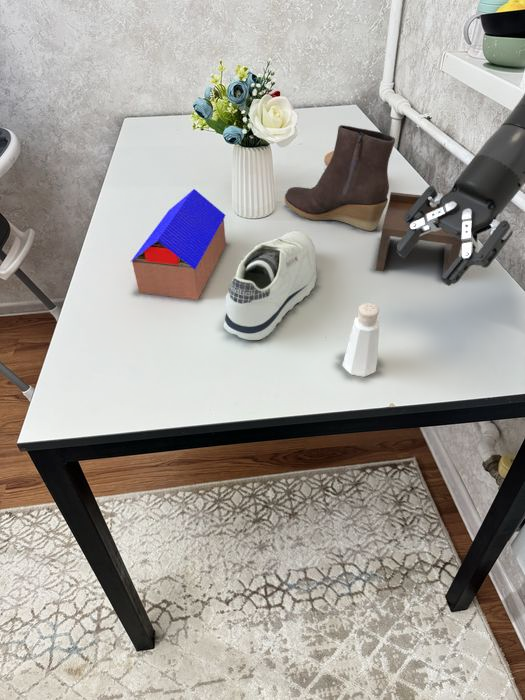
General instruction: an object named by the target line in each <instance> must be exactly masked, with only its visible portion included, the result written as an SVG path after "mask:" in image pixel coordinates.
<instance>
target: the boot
mask: <svg viewBox="0 0 525 700" xmlns="http://www.w3.org/2000/svg"><path fill="white" fill-rule="evenodd" d="M395 143H396V138H395V137H393V136H391V135H389V134H387V133H384V132H382V131H378V130H377V131H376V130H371V129H367V128H361V127H355V126H350V125H345V124H344V125H343V124H341V125H340V124H339V125H338V127H337V135H336V140H335V144H334V149H333V151H334V153H333V156H332V158H331V160H330V162H329V164H328V166H327V168H326V169H325V171H324V170H323V173H322V174H321V176H320V178H319V179H318V181H317V183H316V184H315V186H313V187H311V188H309V187H302V186H292V187H289V188H288V189H287V190H286V193H285V194H284V202H285V204H286V206H287V207H288V208H289V209H290V210H291V211H293V213H296V214H297V215H299V216H300V217H303V218H305V219H308V220H312V221H322V220H323V221H329V220H330V221H338V222H342V223H345V224H348V225H351V226H353V227H355V228H357V229H360V230H362V231H367V232H372V231H375V230H376V229H377V227H378V225H379V223H380V221H381V218H382V215H383V213H384V211H385V208H386V206H388V203H389V198H388V195H389V191H390V189H389V188H390V183H389V175H388V169H389V162H390V157H391V155H392V152H393V149H394V146H395Z"/></svg>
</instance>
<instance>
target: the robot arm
mask: <svg viewBox="0 0 525 700" xmlns="http://www.w3.org/2000/svg"><path fill="white" fill-rule="evenodd" d="M524 185H525V92H524V93H523V95H522V97H521V99H520V100H519V102H517V104H516V106H514V108H513V109H512V110H511V112H510V113H509V114H508V116H507V117H506V118H505V119H504V121H503V122H502V123H501V125H500V126H499V127H498V128H497V130H496V131H495V132H494V133H493V134H492V135H491V136H490V137H489V138H488V139H487V140H486V141H485V142H484V144H483V145H482V146H481V147H480V149H479V150H478V152H477V153H476V154H475V155H474V157H473V158H472V159H471V160H470V161H469V163H468V164H467V165H466V167H465V168H464V170H462V172H461V173H460V175H459V176H458V178H456V179H455V182H454V183H453V186H452V188H451V190H450V191H448V192H447V193H445V194H442V193H441V192H439V191H437V189H436V187H435V186H433V185H429V186H428V187H427V188H426V189H425V190H424V192H422V194H421V196H420V198H419V199H418V200H417V201H416V202H415V204H414V205H413V206H412V207H411V208H410V210H409V211H408V212H407V213H406V214H405V216H404V220H405V221H406V222H407V224H408V225H409V230H408V231H407V233H406V234H405V235H404V237H403V238H401V239H400V241H399V242H398V243H397V245H396V253H397V254H398V256H399V257H401V258H403V259H405V258H407V257H408V255H409V254H410V253H411V252H412V250H413V249H414V248H415V246H416V245H417V244H418V242H419V241H421V240H420V237H419V236H422V235H424V234H426V233H429V232H431V231H433V232H435V231H438V230H441V229H442V230H443V231H444V232H446V233H448V234H453V235H454V236H455V237H456V238H457V239H459V240H462V245H461V256H458V257H457V258H456V260H455V261H454V262H453V263H452V265H451V266H450V267H449V268H448V270H447V271H446V272H445V273H444V275H443V274H442V276H441V278H440V280H441V282H442V283H443V284H444V285H446V286H448V287H450V286H451V285H452V284H453V285H455V284H457V283H458V282H459V280H460V279H461V278H462V277H463V276H464V274H465V273H466V272H467V271H468V270H469V268H471V267H472V266H480V267H482V268H484V269H485V268H488V267H489V266H490V265H491V264H492V263H493V262H494V260H495V258H496V257H497V256H498V254H499V253H500V252H501V250H503V247H504V246H505V245H506V243H507V242H508V241H509V240H510V238H511V237H512V235H513V234H514V230H513V228H512V226H511V224H510V222H509V221H508V220H506V219H505V220H501V221H500V220H498V219H497V217H498V215H500V214H502V213H503V211H504V210H505V209H506V207H507V206H508V205H510V203H511V201H512V200H513V199H514V197H516V195H517V194H518V192H519V191H520V190H521V189H522V187H524ZM437 204H439V208H438V209H436V210H434V211H432V212H429V211H430V210H431V208H432V207H436V206H437ZM428 212H429V213H428ZM436 219H438V221H435V220H436ZM489 230H490V231H489ZM486 231H489V234H490V236H489V237H488V238H487V240H486V241H485V243H484V244H483V245H482V246H481V248H480V250H478V249H479V234H482V233H484V232H486Z"/></svg>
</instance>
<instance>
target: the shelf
mask: <svg viewBox="0 0 525 700" xmlns="http://www.w3.org/2000/svg"><path fill="white" fill-rule="evenodd" d="M421 195H422V194H421ZM421 195H420V194H414V193H413V194H412V193H403V192H402V193H401V192H393V191H391V192H390V193H389V198H388V203H387V208H386V212H385V216H384V221H383V223H382V228H381V235H380V239H379V247H378V252H377V259H376V265H375V271H379V272H380V271H381V272H384V269H385V265H386V260H387V256H388V253H389V247H390V242H391V238H401V239H402V238H403V237H404V235H405V234H406V233H407V231H408V230H409V225H408V224H407V222H406V221H405V220H404V216H405V214H406V213H407V212H408V211H409V210H410V208H411V207H412V206H413V205H414V204H415V202H416V201H417V200H418V199H419V198H420V196H421ZM438 208H439V204H437V206H436V207H432V208H431V210H430V211H429V212H432V211H434V210H436V209H438ZM429 212H428V213H429ZM435 221H438V219H436V220H435ZM419 237H420V240H419V241H422V242H431V243H437V244H439V243H440V244H445V245H444V251H443V252H444V253H443V266H442V267H443V268H442V276H443V275H444V273H445V272H446V271H447V270H448V268H449V267H450V266H451V265H452V263H453V262H454V261H455V260H456V258H457V257H458V256H459V255H460V252H461V250H462V240H459V239H457V238H456V237H455V236H454V235H453V234H448V233H446V232H444V231H443V230H442V229H441V230H438V231H435V232H433V231H431V232H429V233H426V234H424V235H422V236H419ZM459 257H460V256H459Z"/></svg>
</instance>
